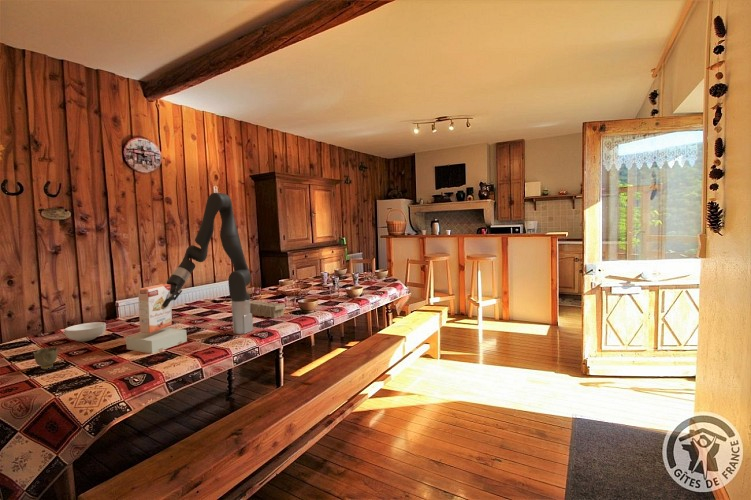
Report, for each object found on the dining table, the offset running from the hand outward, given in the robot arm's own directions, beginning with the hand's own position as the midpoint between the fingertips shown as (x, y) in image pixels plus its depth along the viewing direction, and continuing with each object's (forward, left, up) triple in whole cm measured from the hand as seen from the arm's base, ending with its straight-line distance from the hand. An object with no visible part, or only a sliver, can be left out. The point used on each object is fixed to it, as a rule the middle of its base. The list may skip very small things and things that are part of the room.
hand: (158, 305), depth 176 cm
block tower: (-11, -62, -19) cm, 66 cm away
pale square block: (0, +2, -19) cm, 19 cm away
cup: (+17, +38, -19) cm, 46 cm away
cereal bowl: (+46, +8, -19) cm, 50 cm away
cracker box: (0, +2, -11) cm, 11 cm away
